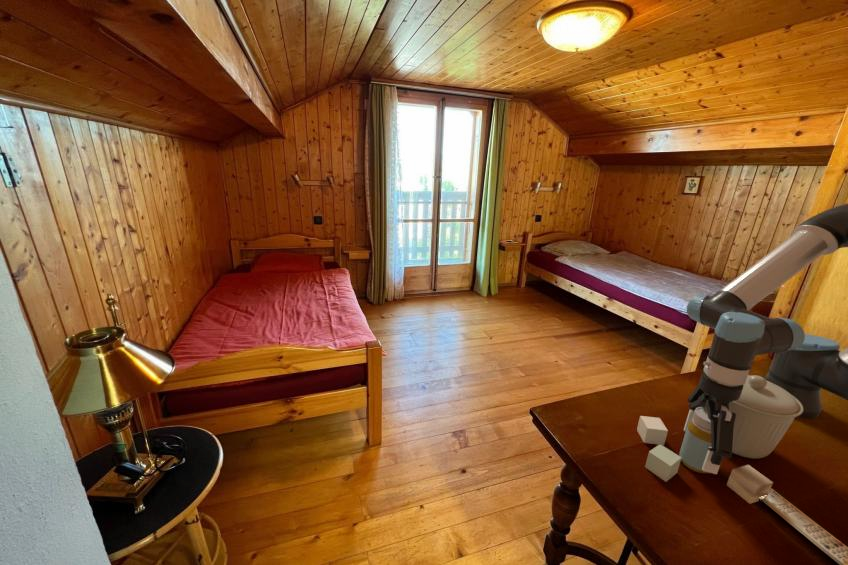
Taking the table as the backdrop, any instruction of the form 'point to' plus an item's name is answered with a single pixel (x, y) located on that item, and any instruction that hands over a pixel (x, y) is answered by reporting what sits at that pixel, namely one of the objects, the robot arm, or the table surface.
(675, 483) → the table surface
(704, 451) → the bottle
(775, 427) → the canister
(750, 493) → the birch cube
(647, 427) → the cream cube
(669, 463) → the sage cube
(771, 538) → the table surface
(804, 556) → the table surface
